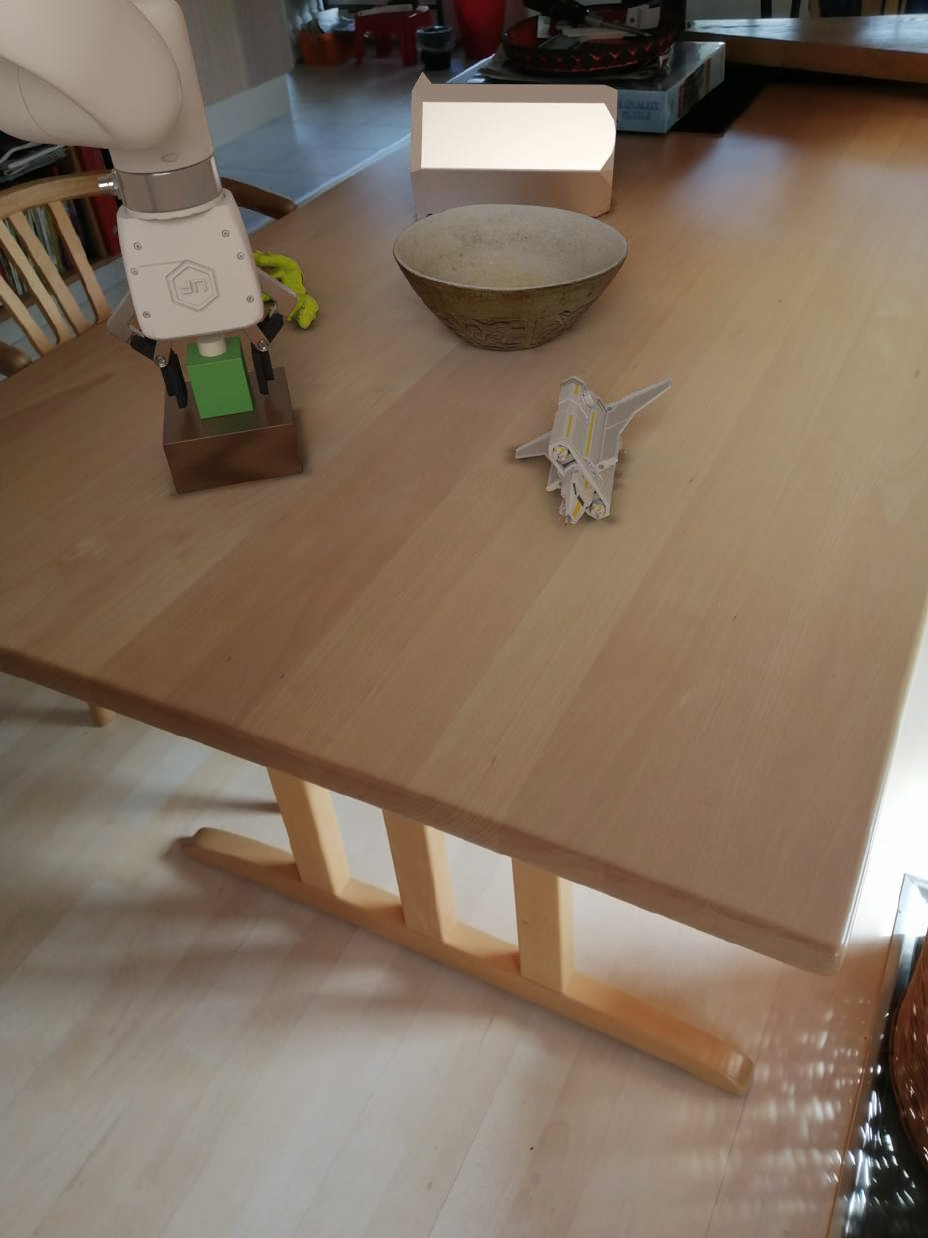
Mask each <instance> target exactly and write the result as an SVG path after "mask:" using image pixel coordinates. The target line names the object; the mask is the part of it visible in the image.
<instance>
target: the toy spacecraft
mask: <svg viewBox="0 0 928 1238" xmlns="http://www.w3.org/2000/svg"><path fill="white" fill-rule="evenodd" d="M673 381H674V379H673V376H669V377H667V378H665V379H662V380H660V381H659V380H658V381H657V382H654V383H652V384H650V385H647V386H644V387H643V388H639V389H637V390H635V391H632V392H630V393H628V394H624V395H623V396H621V398H620V399H618V400H616V401H609V402H606V403H605V402H604V401H603V400H602V398H601V396H600V395H598V394H597V395H596V394H595V392H594V391H593V390H591V389H590V388H589V387H588V385H587V384H586V382H585V380H584V379H582V378H580V377H578V376H576V375H575V374H573V375H571V376H570V377H568V378H565V379H563V380H562V383H560V385H559V397H558V401H557V411H555V415H554V420H553V424H552V429H551V430H549V431H546V432H545V433H543V434H541V435H539V436H537V437H535V438H533V439H531V440H530V441H528V442H525V443H524V444H522V445H520V446H519V447H517V448H515V455H514V458H515V460H518V459H525V458H530V457H532V458H533V457H538V456H545V457H546V459H547V460H548V461H549V462H550V463H551V464H550V469H549V474H548V479H547V484H546V486H545V491H546V492H553V491H555V490H556V489H557V490H560V496H561V497H562V498H563V499H562V500H561V504H560V505H559V507H558V513H559V517H558V519H559V520H560V519H561V516H564V517H565V524H564V528H567V523H568V521H569V523H570V524H572V525H574V524H577V523H578V521H579V520H580V518H581V517H582V516H583V515H584V514H585V513H586V515H588V516H590V517H591V518H594V519H595V520H596V521H598V522H599V520H602V519H603V518H607V517H609V516H610V514H611V506H612V498H613V492H614V491H613V490H614V484H615V483H614V482H615V471H616V467H617V463H618V462H619V454H620V451H621V450H623V451H624V454H625V455H626V454H627V453H628V452H627V450H626V449H625V448H624V440H623V438H622V435H621V434H623V432H624V430H625V429H626V427H627V426H628V425H629V423H630V422H631V420H632V419H633V417H634V416H635V414H637V413H638V412H640V411H641V410H642V409H644V408H646V406H648V405H650V404H651V403H652V402H653V401H655V400H656V399H657V398H659V397H660V396H662V395H663V394H664V393H666V392H667V391H670V389H671V388H672V385H673ZM569 517H570V520H569Z"/></svg>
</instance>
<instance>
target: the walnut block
mask: <svg viewBox="0 0 928 1238" xmlns="http://www.w3.org/2000/svg"><path fill="white" fill-rule="evenodd" d="M272 369H273V374H274V380H270V381H267V383H268V391H269V394H268V395H263V394H260V390H259V386H258V381H257V377H256V372H255V370H253V371H252V370H251V371H248V374H249V378H250V383H251V388H252V399H253V409H254V410H253V411H248V412H242V413H236V414H230V415H223V416H217V417H211V418H205V419H201V418H200V414H199V411H198V407H197V403H196V400H195V396H194V393H193V389H192V385H191V382H190V380H188V381H185V383H186V387H187V391H188V406H186V408H181V409H179V406H178V403H177V399H176V396H170V397H169V396H168V393H167V389H166V386H165V385H164V404H163V405H164V406H163V407H164V408H163V423H162V424H163V427H162V448H163V451H164V454H165V458H166V462H167V464H168V467H169V470H170V474H171V477H172V480H173V483H174V487H175V490H176V494H184V493H191V492H197V491H203V490H209V489H215V488H219V487H225V486H226V487H227V486H232V485H238V484H243V483H248V482H256V481H262V480H267V479H274V478H280V477H286V476H291V475H297V474H303V465H302V458H301V451H300V445H299V439H298V432H297V425H296V419H295V414H294V413H295V412H294V408H293V403H292V398H291V393H290V388H289V384H288V379H287V374H286V369H285V366H278V367H272Z"/></svg>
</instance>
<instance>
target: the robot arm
mask: <svg viewBox="0 0 928 1238" xmlns="http://www.w3.org/2000/svg"><path fill="white" fill-rule="evenodd" d="M193 53H194V52H193V48H192V44H191V40H190V35H189V31H188V26H187V23H186V19H185V15H184V12H183V10H182V8H181V6H180V5H179V3H178V2H177V1H176V0H0V131H1V132H3V133H4V134H6V135H8V136H10V137H11V136H12V137H13V138H16V139H19V140H23V141H25V142H31V143H39V144H48V145H55V146H56V145H57V146H67V147H88V148H98V149H106V150H107V149H108V151H109V155H110V157H111V162H112V165H113V168H111V172H109V173H106V175H104V176H97V184H98V188H99V192H100V194H101V196H112V197H117V199H118V200H121V203H122V205H120V206H119V208H118V210H117V212H116V224H117V225H116V226H117V232H118V233H117V235H118V241H119V247H120V253H121V257H122V263H123V266H124V267H123V268H124V272H125V276H126V280H127V285H128V291H127V292H126V294H125V295H124V296H123V297H122V299H121V300H120V302H119V303H118V305H117V306H116V307H115V309H114V311H113V312H112V313H111V315H110V316H109V317H108V319H107V321H106V322H107V323H106V330H107V332H108V333H109V334H110V335H112V336H114V337H115V338H117V339H119V340H120V341H121V342H123V343H125V344H127V345H129V346H130V347H131V349H132V350H134V351H135V352H137V353H139V354H140V355H142V356H144V357H145V358H147V359H149V360H151V361H152V362H153V364H154V365H155V366H156V367H158V368H159V369H160V373H161V376H162V379H163V383H164V387H165V386H166V389H167V393H168V396H169V397H170V396H176V399H177V403H178V406H179V409H181V408H186V406H188V391H187V387H186V383H185V382H186V380H185V376H184V373H183V370H182V366H181V362H180V359H179V358H180V357H179V355H178V353H176V352H175V350H173V348H172V345H173V341H174V340H181V339H188V338H194V337H195V338H196V337H198V336H202V335H208V334H215V333H221V332H222V333H227V332H233V331H239V330H241V331H242V332H243V333H244V334H245V335H246V337H247V338H248V339H249V340H250V341H249V343H250V354H251V359H252V364H253V368H254V371H255V372H256V377H257V381H258V386H259V390H260V394H263V395H268V394H269V391H268V383H267V381H270V380H274V374H273V369H272V368H273V365H272V360H271V355H270V347H271V343H272V342H273V341H274V339H275V338H276V337H277V335H278V334H279V333H280V332H281V330H282V329H283V327H284V324H285V322H286V321H287V318H288V317H289V316H290V314H291V313H292V311H293V310H294V308H295V307H296V305H297V303H298V299H297V295H296V293H295V292H294V291H293V290H291V289H290V288H288V287H287V286H285V285H284V284H282V283H281V282H279V281H278V280H276V279H274V278H273V277H271V276H270V275H268V274H267V273H265V272H264V271H262V270H261V268H260V267H257V266H256V263H255V259H254V255H253V252H254V251H253V248H252V245H251V241H250V237H249V235H248V232H247V228H246V225H245V222H244V220H243V216H242V214H241V211H240V208H239V206H238V204H237V202H236V199H235V197H234V195H233V193H232V191H230V189H227V188H225V187H223V185H222V180H221V176H220V171H219V165H218V161H217V157H216V153H215V148H214V144H213V141H212V134H211V130H210V125H209V122H208V117H207V113H206V108H205V104H204V100H203V99H204V98H203V95H202V90H201V85H200V81H199V77H198V71H197V68H196V63H195V58H194V54H193ZM262 292H263V293H264V294H266V295H267V296H269V297H270V298H272V299H274V300H275V301H276V304H275V305H274V307H273V309H271V310H270V311H269V312H267V314H266V315H264V314H265V304H264V302H265V301H263V295H262ZM135 316H136V319H137V322H138V326H139V328H140V329H138V328H136V327H135V326H134V325H133V324H131V323H130V321H131V320H132V319H133V317H135ZM264 316H265V317H264Z"/></svg>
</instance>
